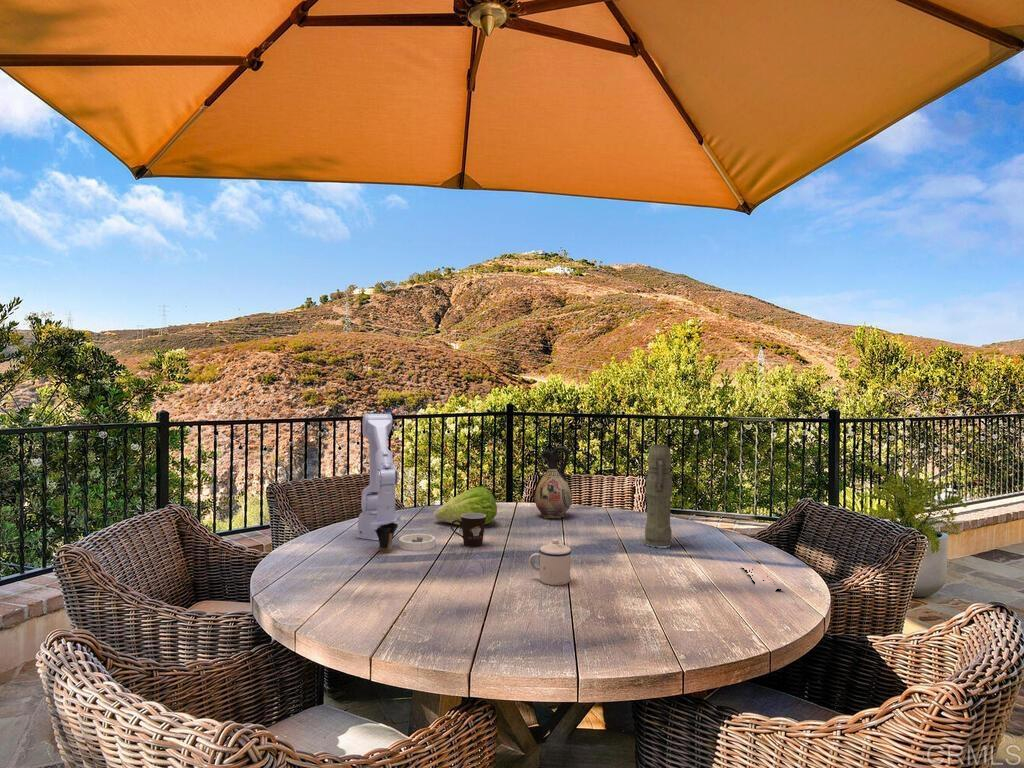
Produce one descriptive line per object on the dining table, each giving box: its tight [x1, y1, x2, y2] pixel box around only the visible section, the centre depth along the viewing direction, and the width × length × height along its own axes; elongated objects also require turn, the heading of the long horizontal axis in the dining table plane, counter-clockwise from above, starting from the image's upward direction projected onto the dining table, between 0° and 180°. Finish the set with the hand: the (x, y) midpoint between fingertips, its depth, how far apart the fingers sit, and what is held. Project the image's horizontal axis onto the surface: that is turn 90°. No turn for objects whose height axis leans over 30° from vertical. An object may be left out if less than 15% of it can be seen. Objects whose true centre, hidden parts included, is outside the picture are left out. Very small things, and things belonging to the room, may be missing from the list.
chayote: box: [434, 486, 498, 526], centre depth 232 cm, size 15×24×16 cm
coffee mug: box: [450, 513, 486, 548], centre depth 203 cm, size 12×9×10 cm
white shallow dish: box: [398, 533, 436, 552], centre depth 200 cm, size 12×12×2 cm
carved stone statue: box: [644, 444, 673, 546], centre depth 206 cm, size 9×12×35 cm
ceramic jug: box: [534, 445, 573, 519], centre depth 247 cm, size 17×15×30 cm
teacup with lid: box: [528, 538, 572, 586], centre depth 168 cm, size 12×9×12 cm
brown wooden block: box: [378, 533, 393, 553], centre depth 193 cm, size 4×1×6 cm, turn 70°
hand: (385, 546), depth 193 cm, fingers closed on brown wooden block, 1 cm apart
